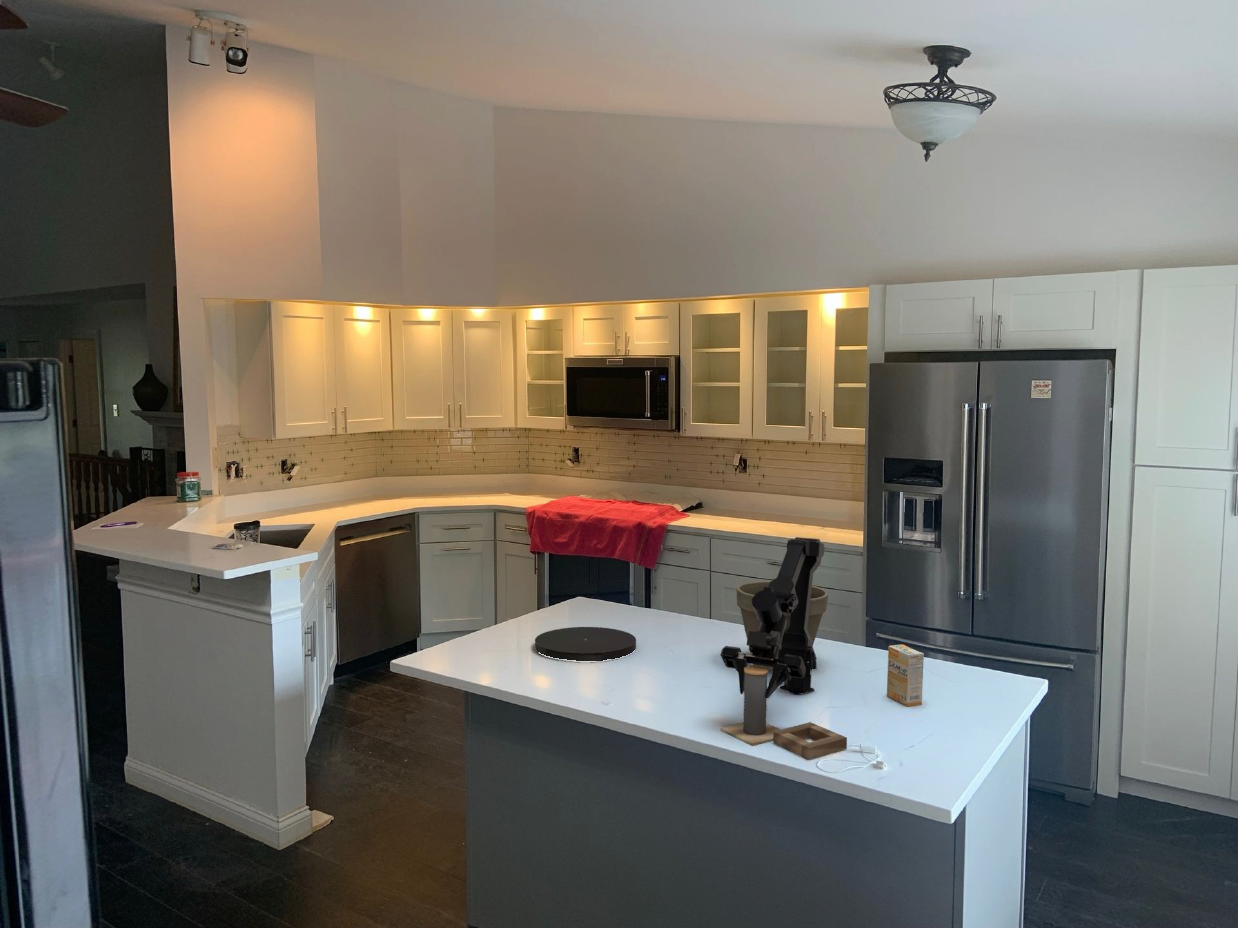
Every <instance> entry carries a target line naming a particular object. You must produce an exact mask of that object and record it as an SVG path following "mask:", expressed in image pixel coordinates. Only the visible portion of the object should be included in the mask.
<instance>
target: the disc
mask: <svg viewBox="0 0 1238 928" xmlns="http://www.w3.org/2000/svg"><path fill="white" fill-rule="evenodd" d="M534 643H535V645H534V648H536V650H537V651H538V652H540V653H541V654H544V655H546V656H550V657H553V658H559V659H567V660H576V661H603V660H607V659H615V658H620V657H622V656H626V655H628V654H630V653H632V652H633V651H634V650H635V649H637V639H636V637H635V635H634V634H631V632H627V631H625V630H620V629H615V628H610V627H601V626H600V627H599V626H575V627H565V628H564V627H563V628H556V629H552V630H548V631H545V632H542V633H540V634H539V635H536V637H535V638H534ZM536 650H535V651H536ZM635 651H636V650H635ZM632 654H633V653H632Z"/></svg>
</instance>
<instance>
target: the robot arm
mask: <svg viewBox="0 0 1238 928" xmlns="http://www.w3.org/2000/svg"><path fill="white" fill-rule="evenodd" d="M824 554H825V544H824V543H823V542H821V540H820V539H819V538H809V537H798V536H796V537H795V538H791V539H787V543H786V552H785V554H784V556H783V559H782V562H781V565H780V567H779V570H778V573H777V576H776V578H774V579H772V580H771V582H769V584H768V586H767V587H764V589H763V591H760V592H758V593H756V594H755V595H754V597H753V598H752V605H753V608H754V610H755V613H756V615H757V618H758V620H759V621H760V622H761V623H760V627H759V630H758V631H756V632H755V631H748V638H747V637H746V646H748V651H749V653H750V652H752V655H751V654H746V653H744V652H742V650H741V648H740V647H738V646H737V647H736V646H728V645H725V646H724V647H722V649H721V651H720V658H721V659H722V660H721V661H723V664H724V665H725V667H726V668H728V669H729V668H730V669H735V670H736V671H735V672H736V673H737V674H738V685H739V693H740V695H744V680H745V672H744V668H745V667H749V666H748V665H749V664H751V665H754V664H755V665H762V666H769V667H773V672H771V676H770V679H769V681H768V684H767V691H766V698H767V699H769V698H770V697H771V696H772V695H773V694H774V692H775V691H776V690H777V689H781V690H783V691H786V692H788V693H790V694H793V695H797V696H798V695H803V694H807V693H811V692H815V688H814V687H812V674H811V671H813V670H817V667H818V666H817V665H818V664H817V662H818V661H817V655H816V653H815V649H814V646H813V647H812V639H811V637H810V635H809V632H808V630H807V627H808V617H809V608H810V599H811V589H812V586H813V581H814V579H813V578H814V573H815V572H816V571H817V569H818V568H819V567H820V565H821V564H822V558H823V557H824V556H825V555H824ZM782 612H784V613H791V615H790V624H789V627H788V629H787V630H786V631H785V632H784V630H785V629H786V622H787V619H786V617H785V616H784V615H783V614H782ZM749 646H750V647H749ZM777 657H778V659H777ZM782 684H783V685H782Z"/></svg>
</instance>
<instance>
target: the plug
mask: <svg viewBox="0 0 1238 928" xmlns="http://www.w3.org/2000/svg"><path fill="white" fill-rule="evenodd" d="M744 672H745V680H744V692H743V731H744V732H745V733H747V734H751V735H762V734H765V733H766V723H767V703H768V702H767V701H768V698H766V691H767V688H768V673H769V671H768V669H767V668H764V667H759V666H754V665H752V666H747V667H745V668H744Z"/></svg>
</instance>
